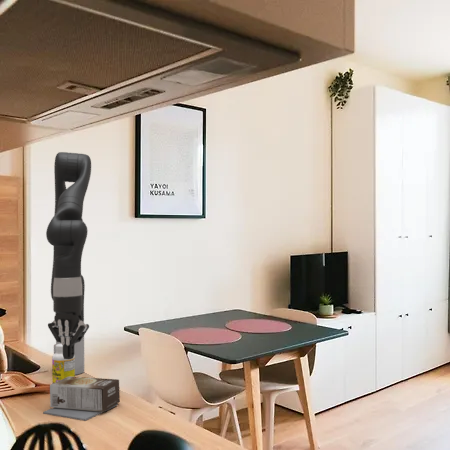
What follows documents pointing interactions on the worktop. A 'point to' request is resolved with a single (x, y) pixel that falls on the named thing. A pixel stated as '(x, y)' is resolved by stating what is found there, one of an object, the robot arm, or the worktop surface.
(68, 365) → the supplement bottle
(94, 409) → the coffee box
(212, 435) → the worktop surface
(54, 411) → the mat
